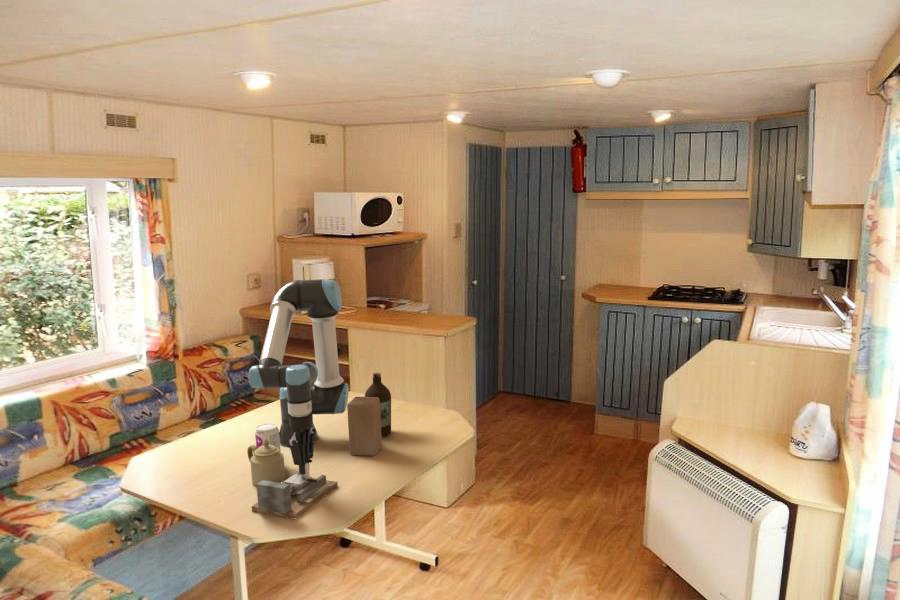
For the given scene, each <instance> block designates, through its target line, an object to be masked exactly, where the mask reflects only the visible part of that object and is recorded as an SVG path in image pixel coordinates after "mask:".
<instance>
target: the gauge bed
mask: <svg viewBox="0 0 900 600" xmlns="http://www.w3.org/2000/svg"><path fill="white" fill-rule="evenodd" d="M294 474H296V475H300V473H299V470H298V471H296V472H295V473H294ZM294 474H292V475H291V476H293V475H294ZM291 476H288V478H290V477H291ZM288 478H287V479H288ZM287 479H286V478H285V480H287ZM312 479H315V480H317V482H311V483H310V484H308V485H307V486H306V487H304V488H303V489H301V490H300V491H299V492H297V493H296V495H290V485H289V484H284V481H285V480H284V481H283V482H282V483H277V482H271V481H265V480H262V481H260V482H259V483H257V484H256V485H257V486H256V493H257V494H256V495H257V502H255V504H253V505H251V512H255V511H257V512H256V513H260V512H261V513H262V514H266V515H271V514H272V516H276V515H278V516H277V517H282V516H283V517H282V518H287V517H288V518H287V519H292V518H293V520H296V519H297V518H299V517H300V516H301V515H302V514H304V513H305V512H306V511H307V510H309V509H310V508H312V507H313V506H314V505H315V504H317V503H318V502H319V501H320V500H322V499H323V498H325V497H326V496H327V495H328V494H330V493H331V492H332V491H334V488H335V489H336V488H337V487H339V486H338V481H334V480H327V476H326V475H325V474H321V475H319V476H318V477H317V478H314V477H312ZM325 495H326V496H325ZM322 497H323V498H322ZM321 498H322V499H321ZM318 500H319V501H318ZM317 501H318V502H317ZM313 504H314V505H313ZM312 505H313V506H312ZM308 508H309V509H308ZM261 513H260V514H261ZM267 513H268V514H267ZM299 515H300V516H299ZM295 518H296V519H295Z"/></svg>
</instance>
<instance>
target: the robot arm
mask: <svg viewBox="0 0 900 600" xmlns="http://www.w3.org/2000/svg"><path fill="white" fill-rule="evenodd" d="M342 299H343V297H342V291H341V288H340V285H339V284H338V282H337V281H336V280H334V279H325V278H322V279H303V280H301V279H296V280H292V281H289V282H288V283H286V284H285V285H283V286H282V287H281V288H280V289H279V290H278V291H277V292H276V293H275V295H274V296H273V298H272V300H271V303H270V307H269V312H270V318H269V323H268V326H267V330H266V334H265V338H264V341H263V347H262V350H261V353H260V358H259V363H258V364H257V365H252V366H251V367H250V368H249V371H248V383H249V386H250V387H251V388H252V389H262V390H263V389H264V390H265V389H276V388H277V389H278V388H280V389H279V398H278V399H279V404H280V416H281V418H280V419H281V425H280V428H279V437H280V446H281V445H282V446H284V447H289V449H290V453H291V456H292V461H293V465H295V466H298V471H299V473H300V475H302V476H309V477H311V476H310V464H311V463H312V462H313V457H314V451H315V450H314V449H315V442H316V441H317V439H318V432H317V428H316V427H315V426H316V425H315V424H314V420H313V419H314V418H313V415H336V414H337V415H338V414H343V413H345V412H346V410H347V405H348V403H349V402H348V401H349V391H350V389H349V388H350V387H349V384H348V383H346V382H345V380H344V378H343V377H342V376H341V375H340V365H339V353H338V342H337V341H338V340H337V329H336V320H335V319H336V317H337V316H338V315H339V311H341V310H342V308H343V300H342ZM297 312H306V314H307V317H308V318H309V319H310V320H311V323H312V325H311V326H312V334H313V345H314V346H313V347H314V358H315V363H313V362H311V361H304V362H301V363H300V364H283V362H284V361H283V360H284V357H285V352H286V348H287V342H288V338H289V333H290V330H291V325H292V321H293V318H295V317H296V314H297Z"/></svg>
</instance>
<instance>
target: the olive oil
mask: <svg viewBox="0 0 900 600" xmlns="http://www.w3.org/2000/svg"><path fill="white" fill-rule="evenodd" d="M381 375H382V374H381V372H373V373H372V383H371V385H369V387H368V388H367V389H366V391H365V394H364V397H378V398H379V399H380V416H381V436H382V438H385V437H387V436H388V437H389V436H390V435H391V434H392V394H391V392H390V389H389V388H388V387H387V386H386V385H384V383H383V382H382V376H381Z"/></svg>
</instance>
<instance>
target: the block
mask: <svg viewBox="0 0 900 600" xmlns="http://www.w3.org/2000/svg"><path fill="white" fill-rule="evenodd" d="M346 410H347V411H346V412H347V425H348V443H349V444H348V445H349V455H351V456H367V457H369V456H371V457H373V456H375V455H377V453H378V452H379V451H380V449H381V448H382V446H383V443H382V442H383V440H382V438H383V437H382V436H381V416H380V399H379V398H378V397H365V396H355V397H353V399H352V400H351V401H349V402H347V407H346Z"/></svg>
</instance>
